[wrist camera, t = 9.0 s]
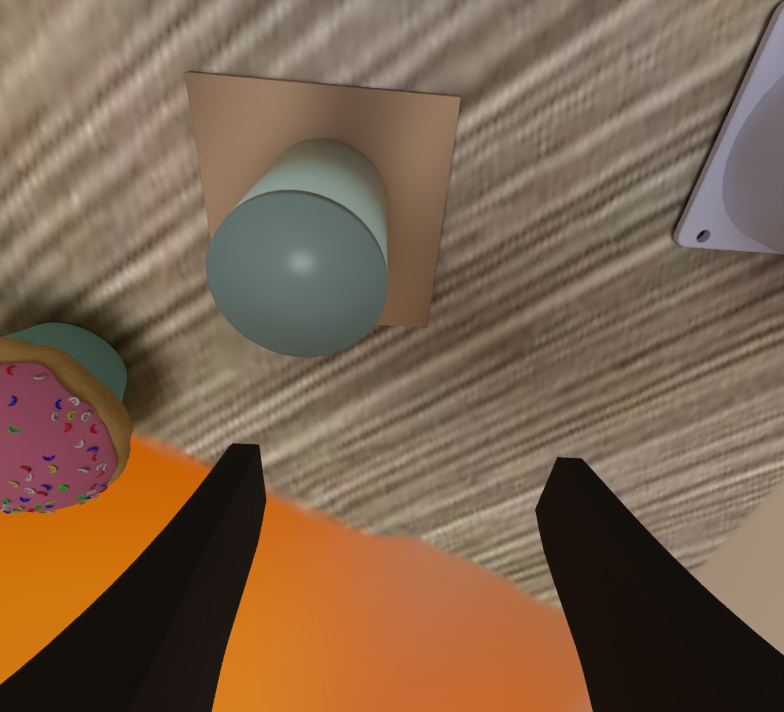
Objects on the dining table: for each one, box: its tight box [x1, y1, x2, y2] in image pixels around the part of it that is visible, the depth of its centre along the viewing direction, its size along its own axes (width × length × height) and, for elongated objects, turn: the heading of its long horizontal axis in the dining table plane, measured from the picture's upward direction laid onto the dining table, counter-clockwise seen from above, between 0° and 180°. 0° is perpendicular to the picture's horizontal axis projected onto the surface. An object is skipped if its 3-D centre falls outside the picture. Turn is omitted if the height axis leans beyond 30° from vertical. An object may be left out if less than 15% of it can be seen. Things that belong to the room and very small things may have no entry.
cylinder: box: [206, 139, 388, 357], centre depth 14 cm, size 5×5×6 cm
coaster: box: [184, 71, 461, 328], centre depth 17 cm, size 9×9×1 cm
